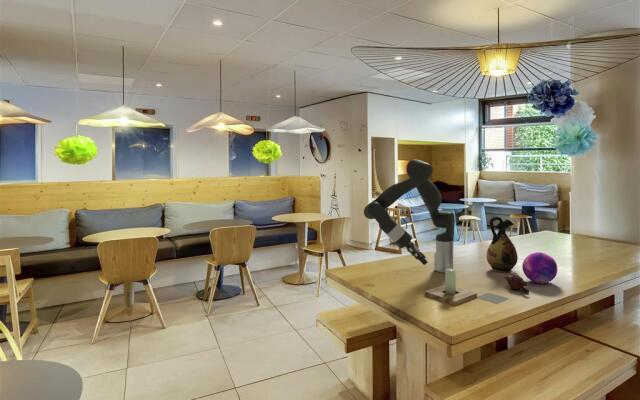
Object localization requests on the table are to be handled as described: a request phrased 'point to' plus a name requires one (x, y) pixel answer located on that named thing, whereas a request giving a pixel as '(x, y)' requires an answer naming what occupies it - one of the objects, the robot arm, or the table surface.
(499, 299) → the mat
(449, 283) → the ball
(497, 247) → the ceramic jug
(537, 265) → the decorative orb
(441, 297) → the pocket block
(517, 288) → the icecream
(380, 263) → the table surface
